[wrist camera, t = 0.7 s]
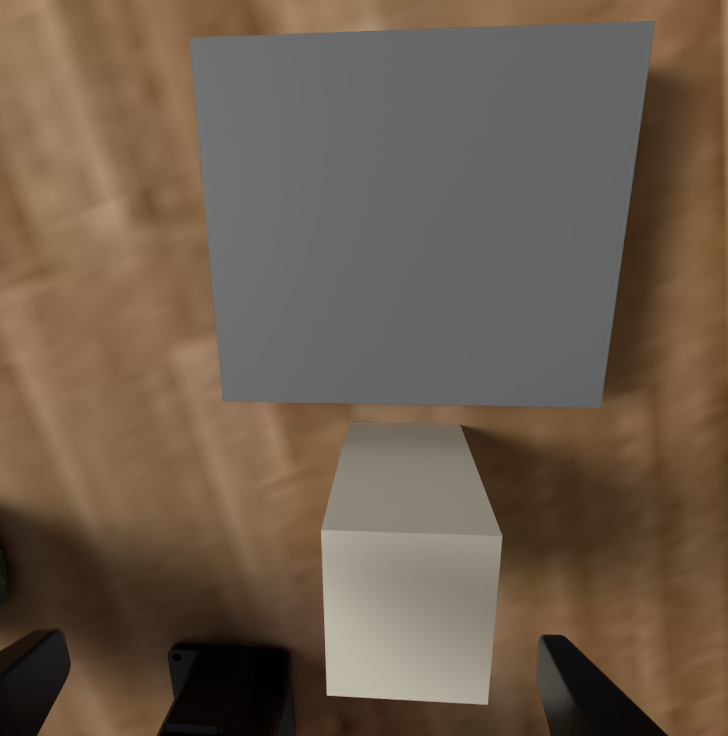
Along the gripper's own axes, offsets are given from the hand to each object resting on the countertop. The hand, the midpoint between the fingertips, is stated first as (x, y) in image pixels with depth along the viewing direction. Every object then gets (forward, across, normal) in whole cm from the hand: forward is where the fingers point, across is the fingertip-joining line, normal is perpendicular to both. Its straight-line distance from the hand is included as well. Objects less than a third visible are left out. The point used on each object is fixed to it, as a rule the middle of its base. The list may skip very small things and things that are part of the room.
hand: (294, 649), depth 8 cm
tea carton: (+12, -2, +3) cm, 13 cm away
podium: (+12, -3, -8) cm, 15 cm away
